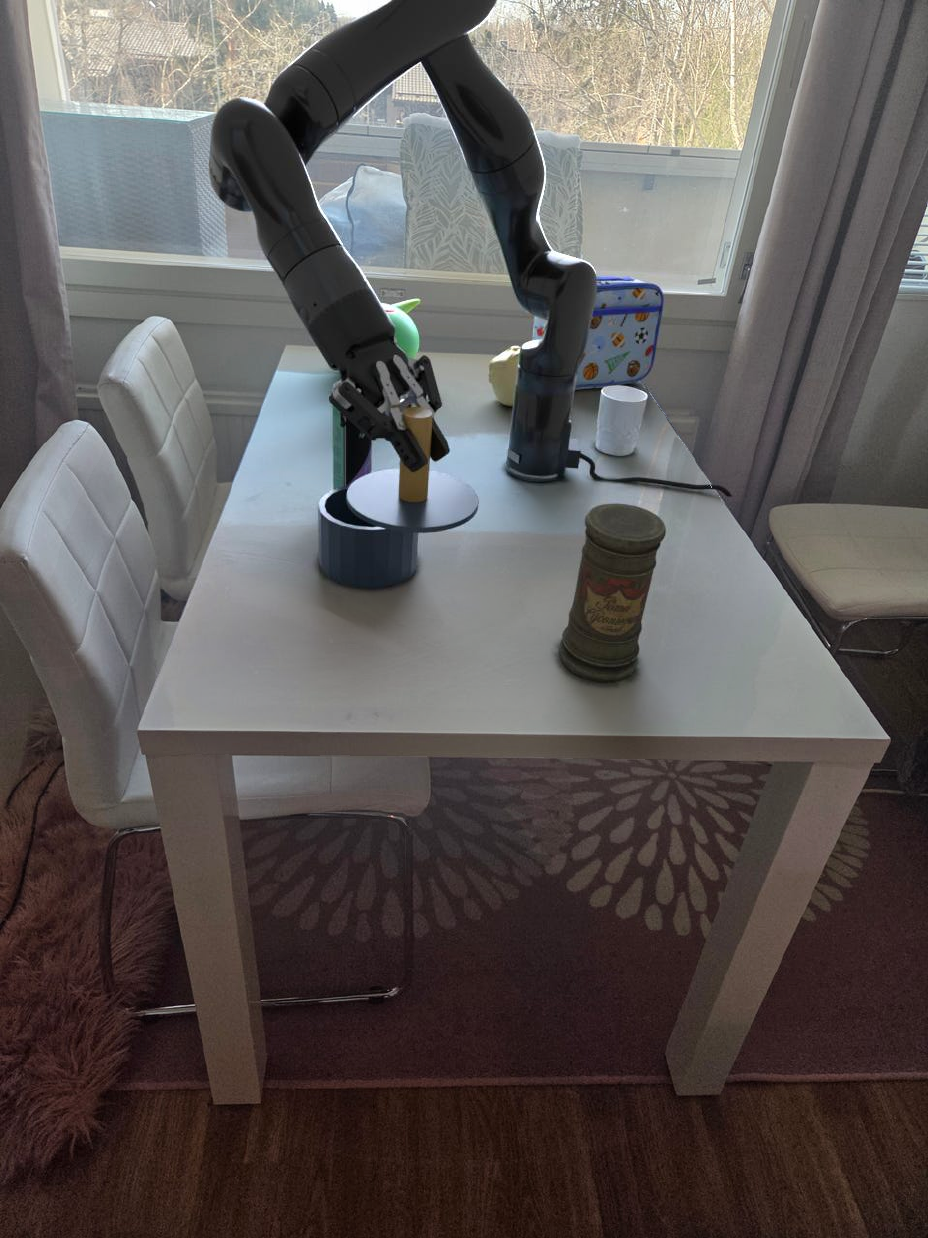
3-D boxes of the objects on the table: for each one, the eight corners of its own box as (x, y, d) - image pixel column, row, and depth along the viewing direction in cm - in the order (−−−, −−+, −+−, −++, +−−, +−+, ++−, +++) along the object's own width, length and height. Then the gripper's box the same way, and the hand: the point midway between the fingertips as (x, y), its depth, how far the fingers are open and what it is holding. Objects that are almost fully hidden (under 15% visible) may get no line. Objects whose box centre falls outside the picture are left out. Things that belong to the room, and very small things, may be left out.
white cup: (609, 460, 147) (619, 403, 141) (583, 442, 153) (592, 387, 147) (645, 454, 150) (657, 399, 145) (619, 437, 156) (629, 383, 150)
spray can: (364, 513, 124) (366, 377, 113) (328, 507, 125) (326, 371, 113) (375, 497, 128) (378, 365, 117) (340, 491, 129) (339, 359, 118)
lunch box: (541, 397, 170) (556, 281, 158) (517, 379, 178) (529, 267, 166) (654, 386, 181) (677, 277, 169) (626, 370, 189) (646, 264, 176)
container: (552, 636, 102) (574, 499, 92) (625, 637, 103) (656, 501, 93) (566, 683, 95) (592, 540, 85) (645, 683, 96) (680, 542, 86)
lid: (477, 483, 95) (485, 393, 89) (478, 543, 84) (488, 445, 78) (353, 473, 95) (354, 383, 89) (338, 533, 83) (338, 433, 78)
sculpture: (508, 388, 173) (514, 334, 167) (560, 404, 168) (568, 348, 162) (476, 402, 165) (481, 345, 159) (529, 419, 160) (536, 361, 154)
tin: (418, 543, 118) (421, 487, 113) (413, 592, 108) (417, 533, 103) (326, 536, 118) (325, 480, 113) (313, 585, 107) (311, 525, 103)
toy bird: (318, 380, 168) (316, 303, 160) (342, 355, 182) (342, 283, 174) (408, 392, 167) (411, 315, 158) (425, 366, 181) (429, 293, 172)
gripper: (308, 298, 76) (410, 466, 78) (406, 275, 86) (495, 425, 87) (268, 344, 81) (364, 501, 83) (365, 317, 91) (450, 458, 93)
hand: (431, 461), depth 85 cm, fingers closed on lid, 3 cm apart
